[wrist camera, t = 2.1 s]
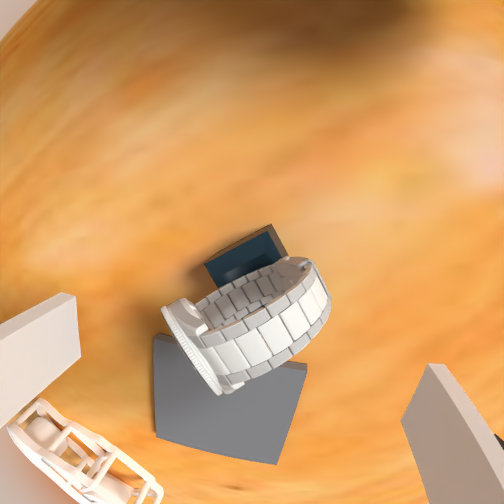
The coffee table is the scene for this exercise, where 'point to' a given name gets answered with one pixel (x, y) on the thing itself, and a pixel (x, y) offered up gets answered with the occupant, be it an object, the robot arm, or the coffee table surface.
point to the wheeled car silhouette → (55, 443)
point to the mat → (224, 407)
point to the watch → (250, 312)
